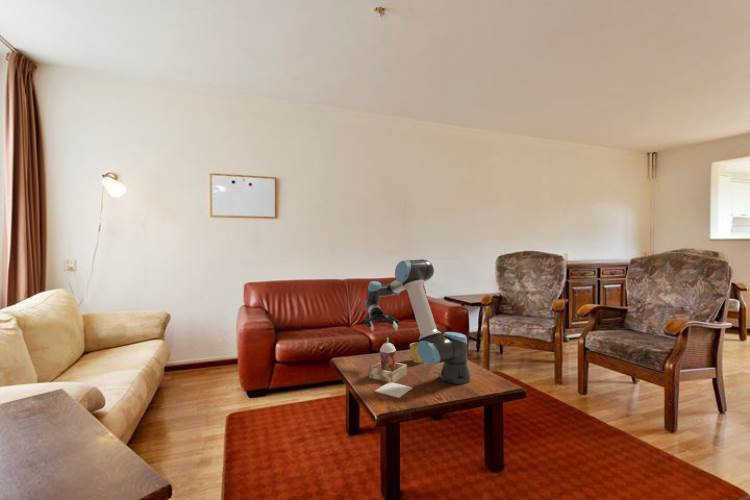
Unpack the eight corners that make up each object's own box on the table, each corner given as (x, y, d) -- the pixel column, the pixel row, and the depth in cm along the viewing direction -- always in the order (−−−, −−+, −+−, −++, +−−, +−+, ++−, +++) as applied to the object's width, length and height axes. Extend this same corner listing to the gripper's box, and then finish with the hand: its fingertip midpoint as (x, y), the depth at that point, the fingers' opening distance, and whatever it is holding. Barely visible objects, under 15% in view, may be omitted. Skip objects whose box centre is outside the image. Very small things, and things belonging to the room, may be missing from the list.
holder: (407, 374, 195) (406, 364, 195) (392, 383, 184) (392, 373, 183) (384, 369, 204) (383, 360, 203) (369, 377, 192) (368, 367, 191)
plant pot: (409, 358, 221) (409, 342, 221) (426, 358, 221) (426, 342, 221) (410, 364, 211) (410, 347, 210) (429, 364, 211) (428, 347, 210)
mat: (412, 388, 177) (412, 387, 177) (399, 397, 166) (399, 397, 166) (389, 382, 184) (389, 381, 184) (374, 391, 173) (374, 390, 173)
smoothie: (396, 373, 197) (396, 335, 197) (395, 378, 189) (395, 339, 188) (380, 372, 198) (380, 335, 198) (379, 378, 190) (379, 339, 189)
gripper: (395, 318, 224) (405, 335, 204) (354, 318, 218) (361, 335, 198) (396, 307, 223) (407, 322, 203) (355, 306, 216) (363, 322, 196)
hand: (385, 328), depth 200 cm, fingers open, 13 cm apart
